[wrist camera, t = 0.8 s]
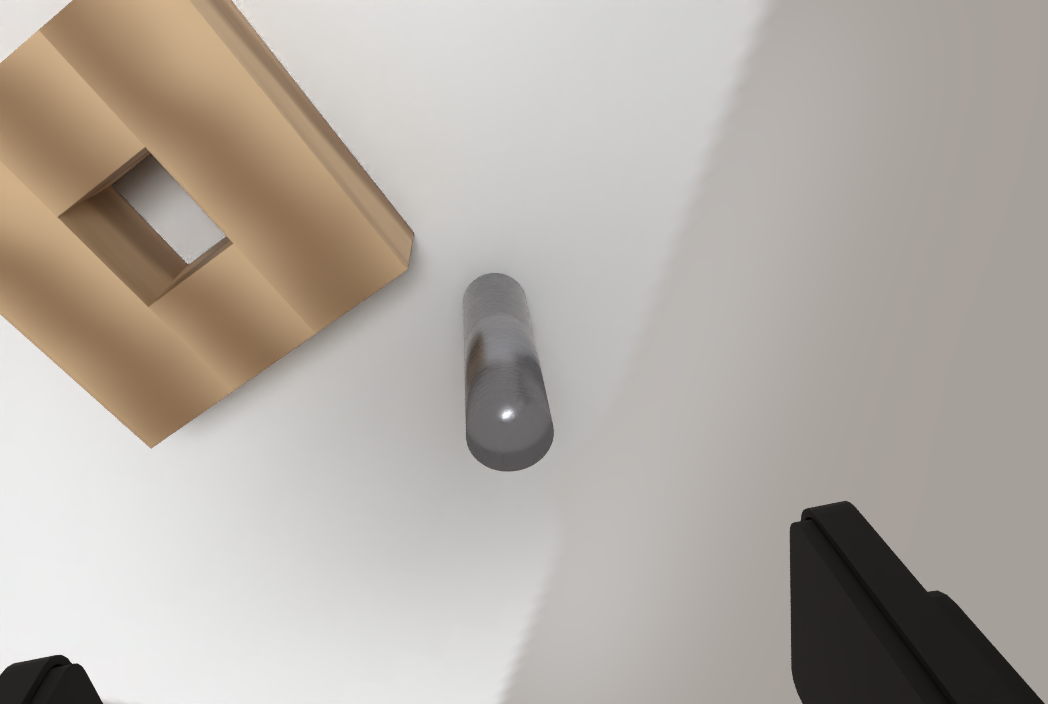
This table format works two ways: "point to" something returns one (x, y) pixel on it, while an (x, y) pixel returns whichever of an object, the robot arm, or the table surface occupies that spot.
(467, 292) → the peg
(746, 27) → the table surface
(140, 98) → the hole block
